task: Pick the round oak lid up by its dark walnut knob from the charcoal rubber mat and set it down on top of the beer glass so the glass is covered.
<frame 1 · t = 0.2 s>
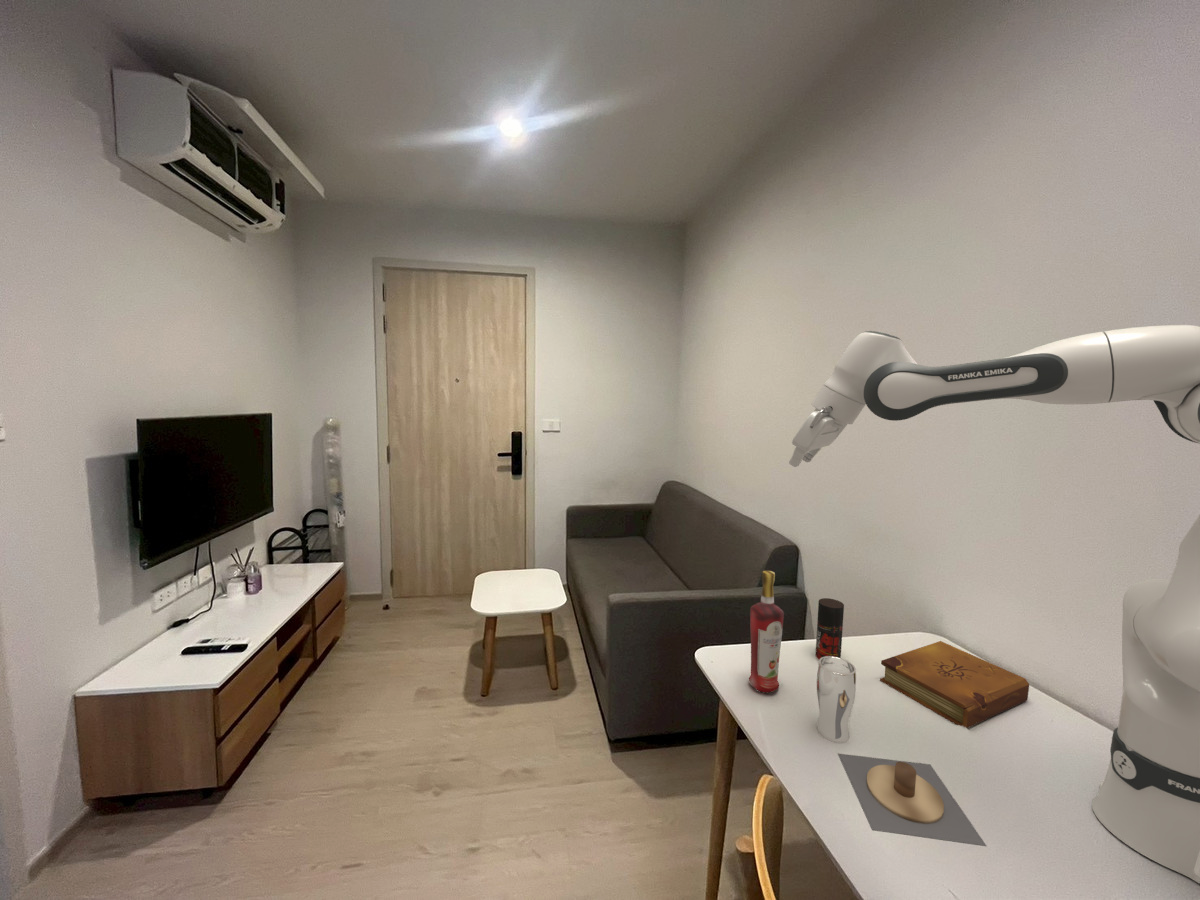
hand: (799, 463, 101), 54 cm above the table, tool tilted 30°, fingers open, 8 cm apart
oak lid: (903, 794, 79), point 1 cm above the table, touching rubber mat
beer glass: (832, 735, 94), on the table
rubber mat: (903, 797, 79), on the table
diary: (950, 693, 109), on the table
deodorant: (827, 658, 122), on the table
liquor: (763, 687, 110), on the table
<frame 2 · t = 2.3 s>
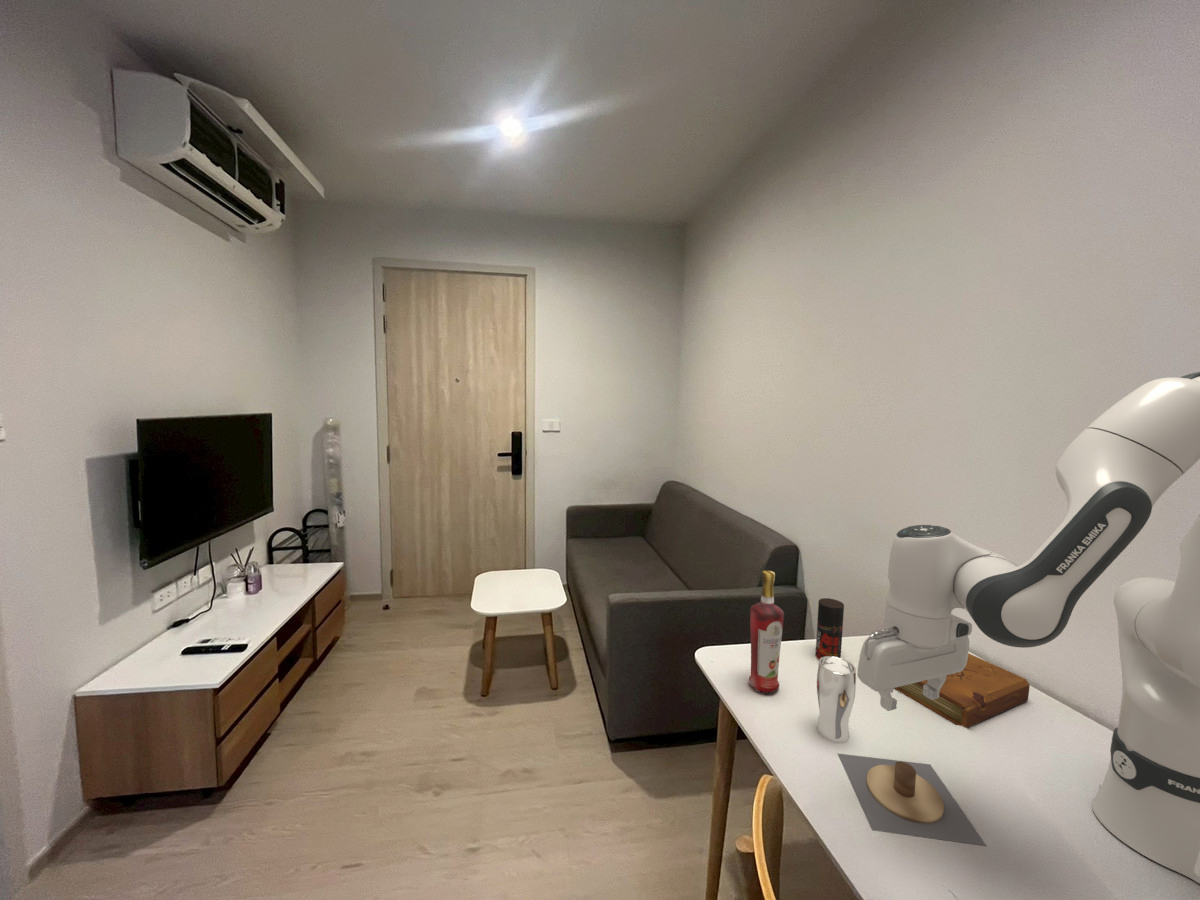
hand: (909, 702, 78), 17 cm above the table, tool pointing down, fingers open, 8 cm apart
nothing on the table moved.
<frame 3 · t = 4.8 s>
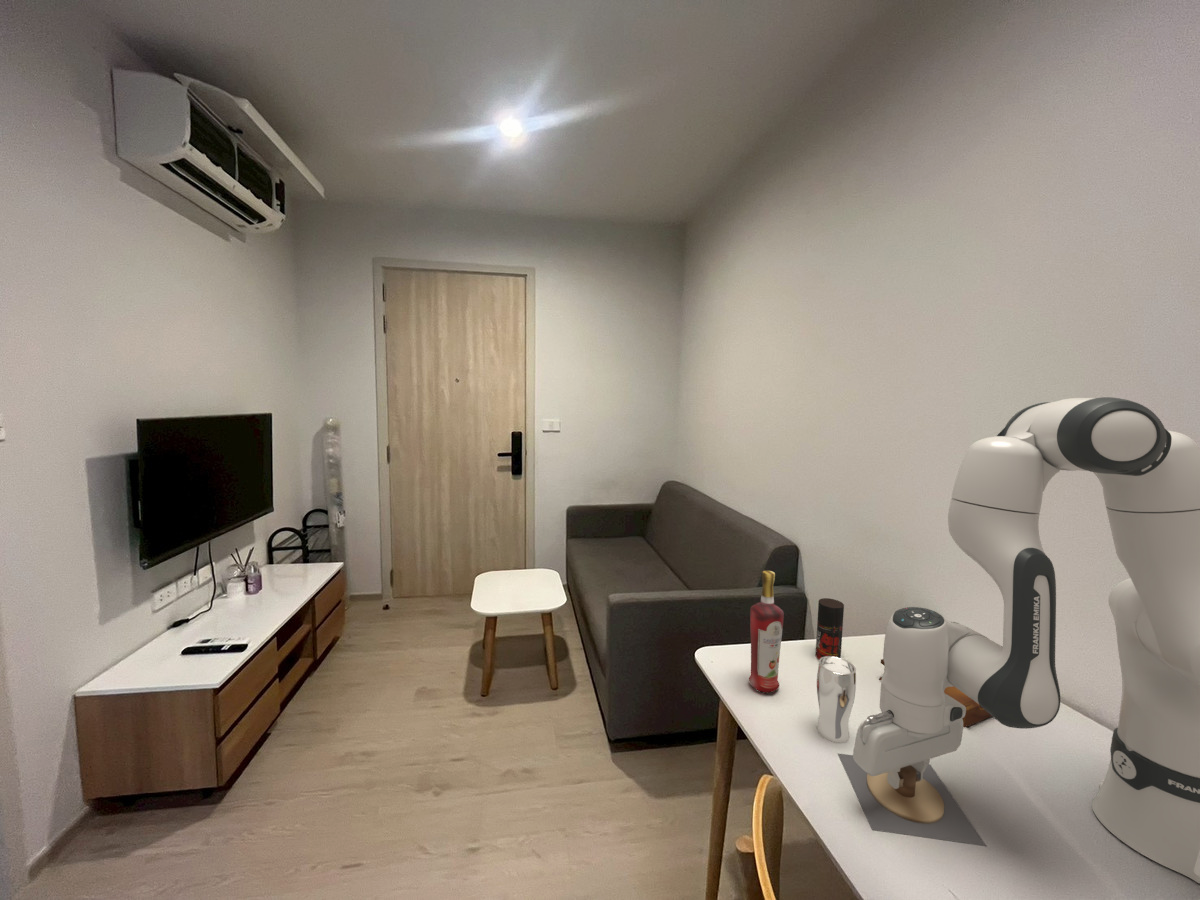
hand: (904, 782, 79), 3 cm above the table, tool pointing down, fingers closed on oak lid, 3 cm apart
oak lid: (903, 794, 79), point 1 cm above the table, touching gripper
everything else where it was.
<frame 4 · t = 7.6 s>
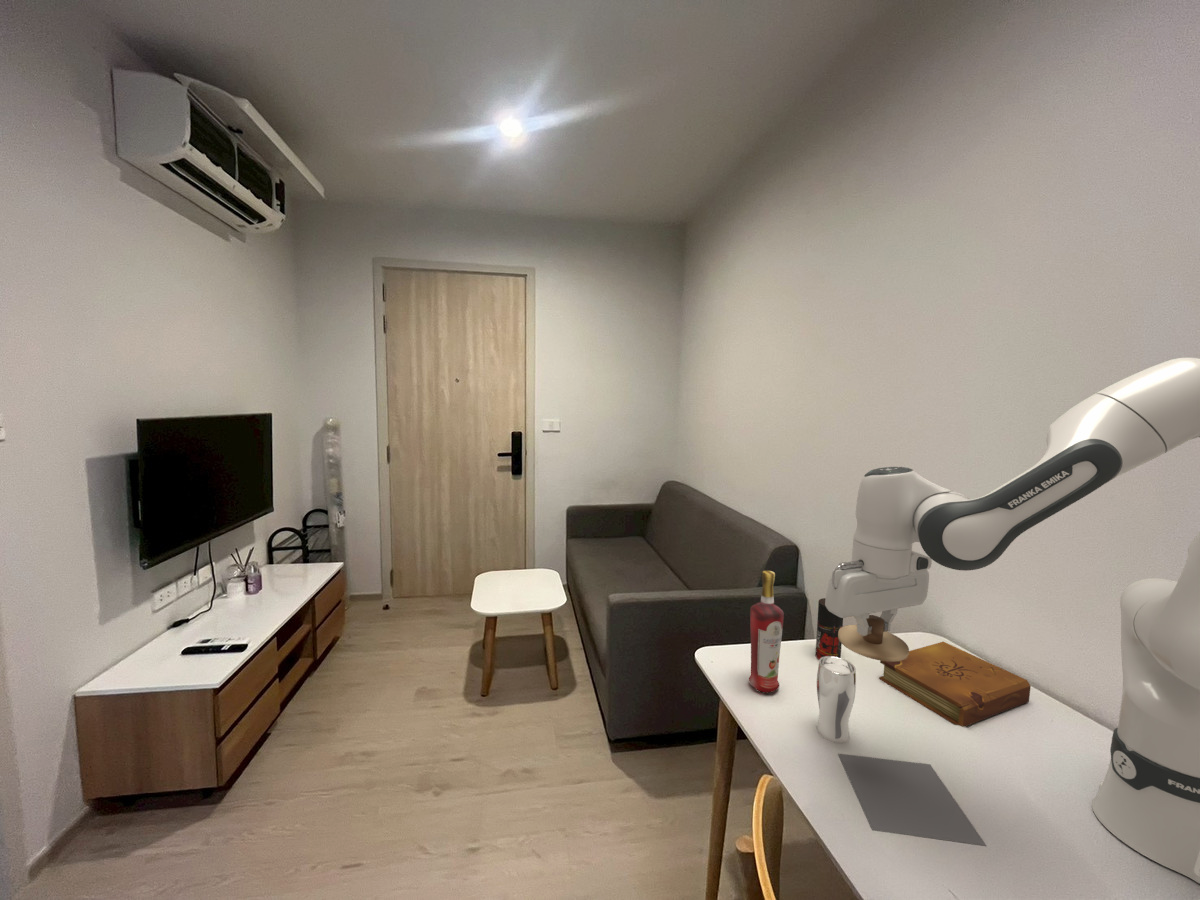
hand: (873, 632, 84), 26 cm above the table, tool pointing down, fingers closed on oak lid, 3 cm apart
oak lid: (872, 644, 84), point 24 cm above the table, touching gripper
everything else where it was.
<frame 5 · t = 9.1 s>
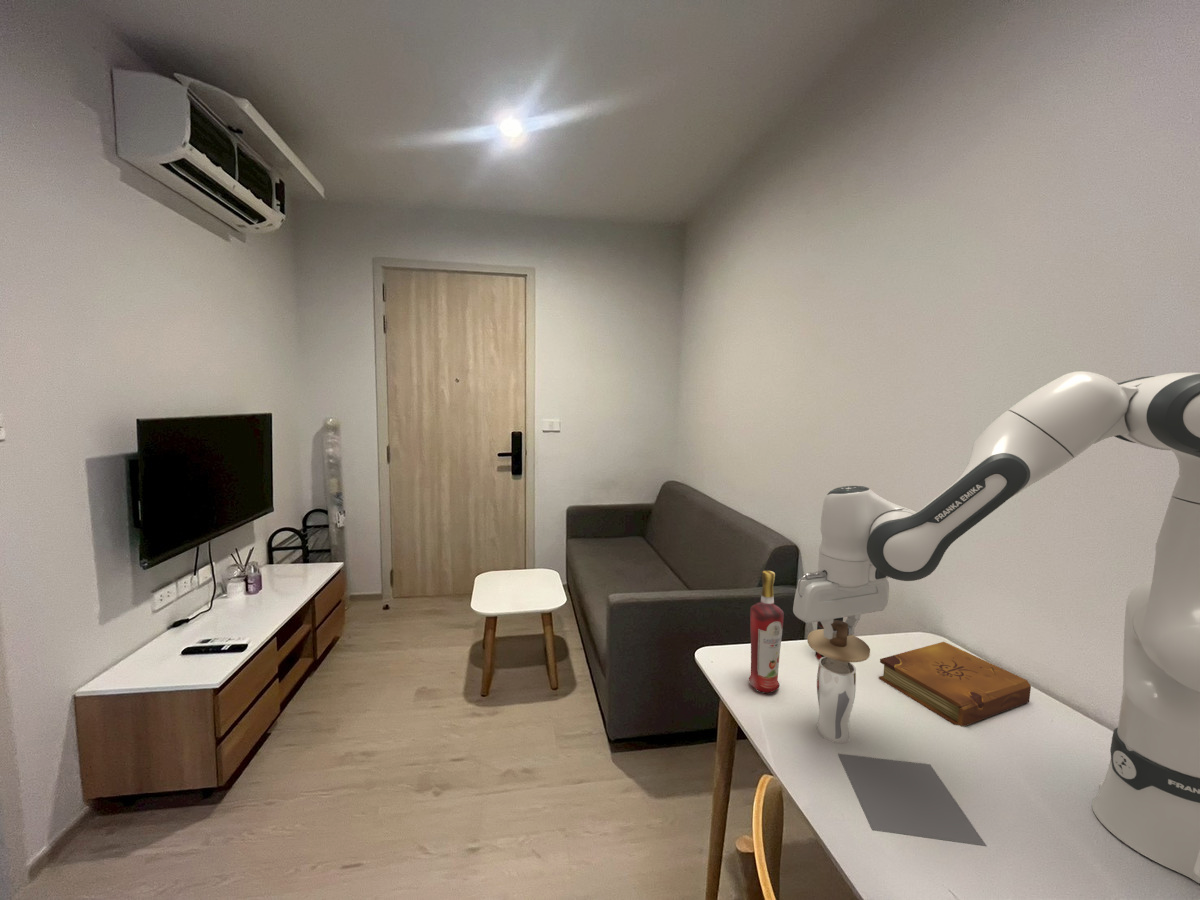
hand: (838, 635, 92), 21 cm above the table, tool pointing down, fingers closed on oak lid, 3 cm apart
oak lid: (837, 646, 92), point 19 cm above the table, touching gripper
everything else where it was.
when the fingers open (19 cm above the table, at t = 10.3 s): oak lid drops 1 cm, resting on beer glass.
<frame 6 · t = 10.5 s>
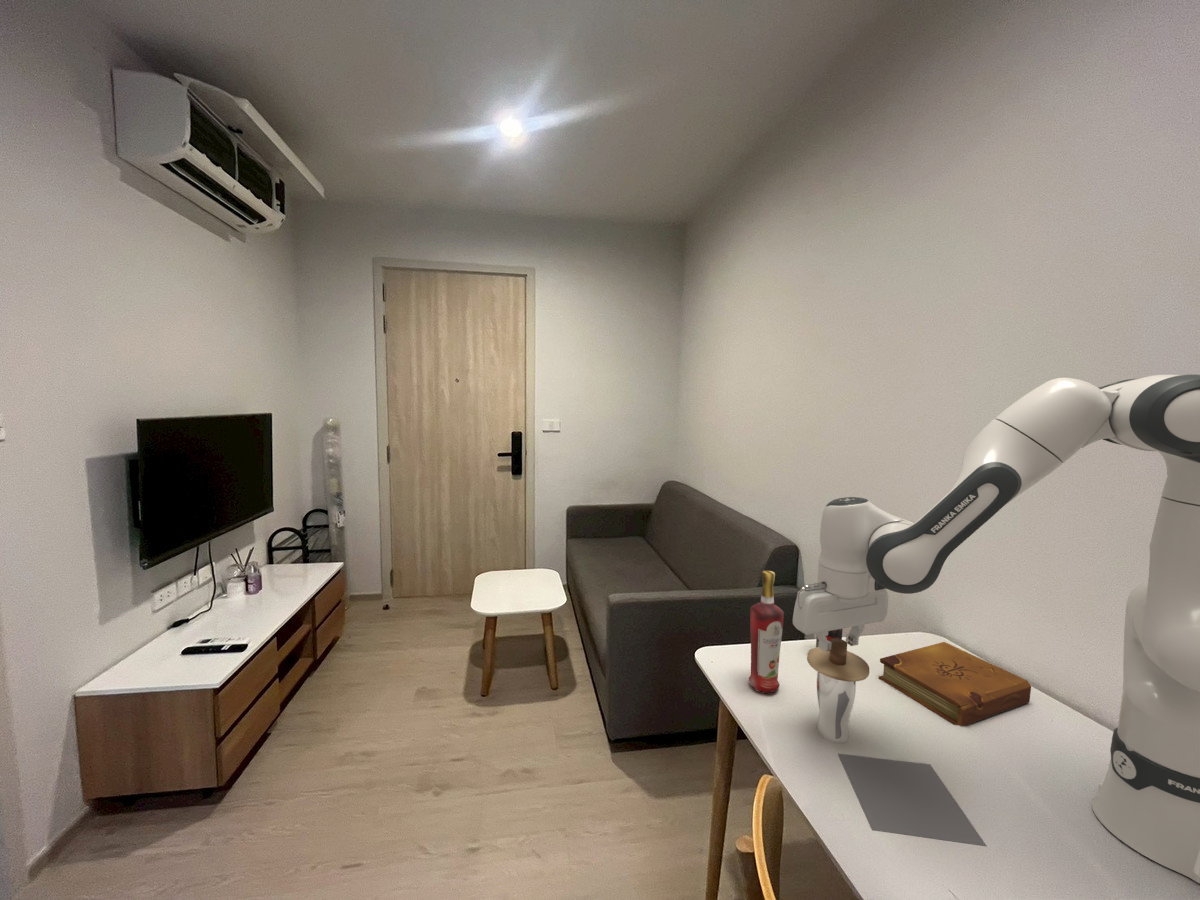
hand: (838, 646, 92), 19 cm above the table, tool pointing down, fingers open, 5 cm apart
oak lid: (837, 664, 93), point 15 cm above the table, touching beer glass
beer glass: (832, 735, 94), on the table, touching oak lid
everything else where it was.
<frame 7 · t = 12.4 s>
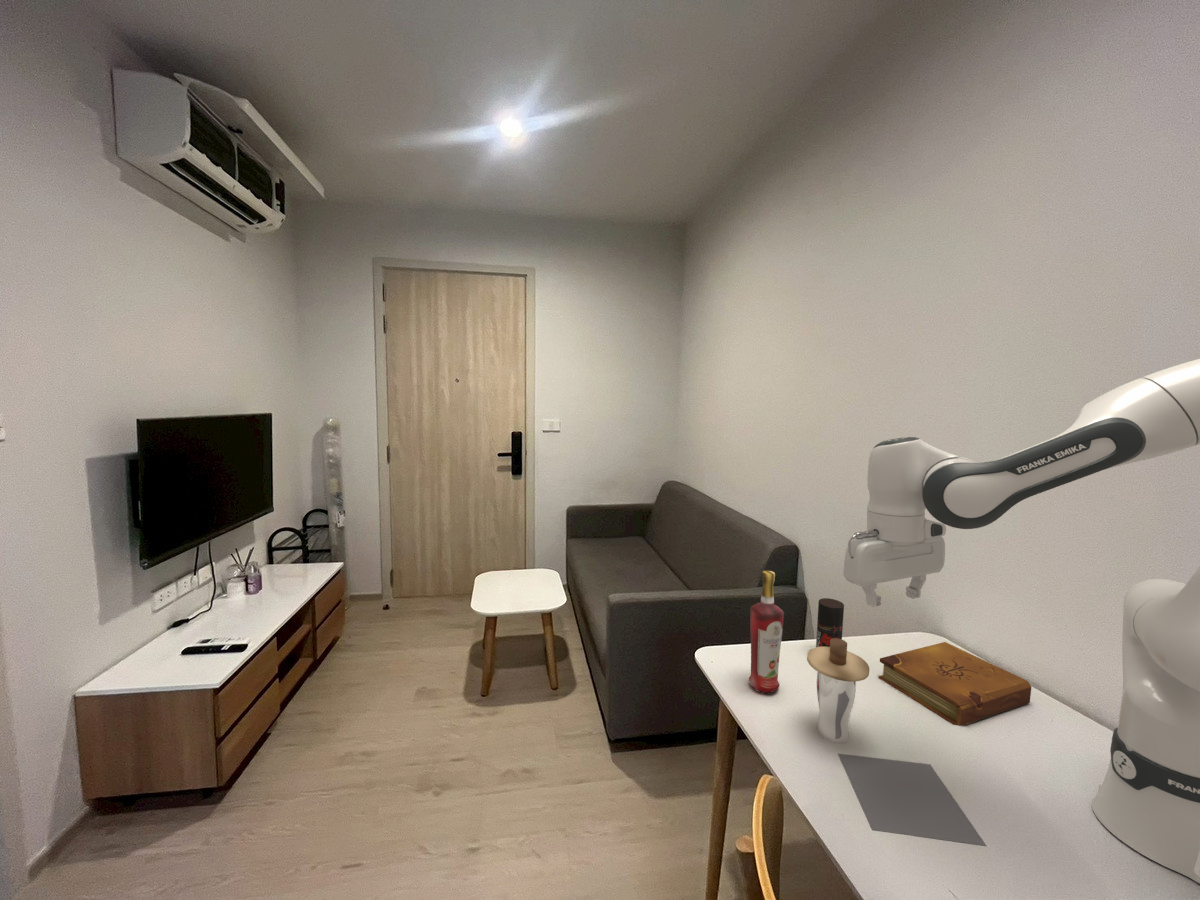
hand: (893, 601, 85), 31 cm above the table, tool pointing down, fingers open, 8 cm apart
nothing on the table moved.
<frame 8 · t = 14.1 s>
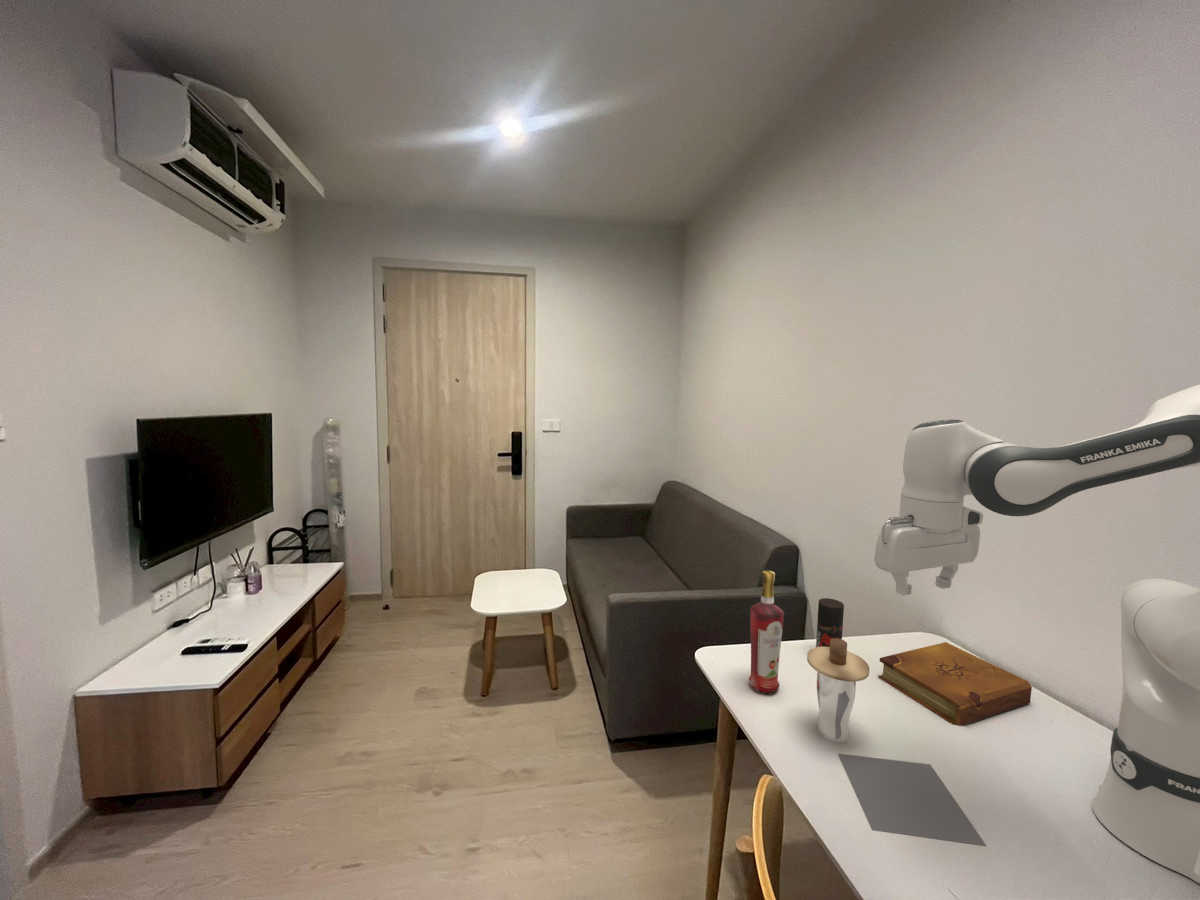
hand: (923, 590, 82), 34 cm above the table, tool pointing down, fingers open, 8 cm apart
nothing on the table moved.
at the end: oak lid 0.0 cm off-centre on the beer glass, point 15.2 cm above the beer glass's base; beer glass tilted 0°; the gripper is holding nothing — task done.
